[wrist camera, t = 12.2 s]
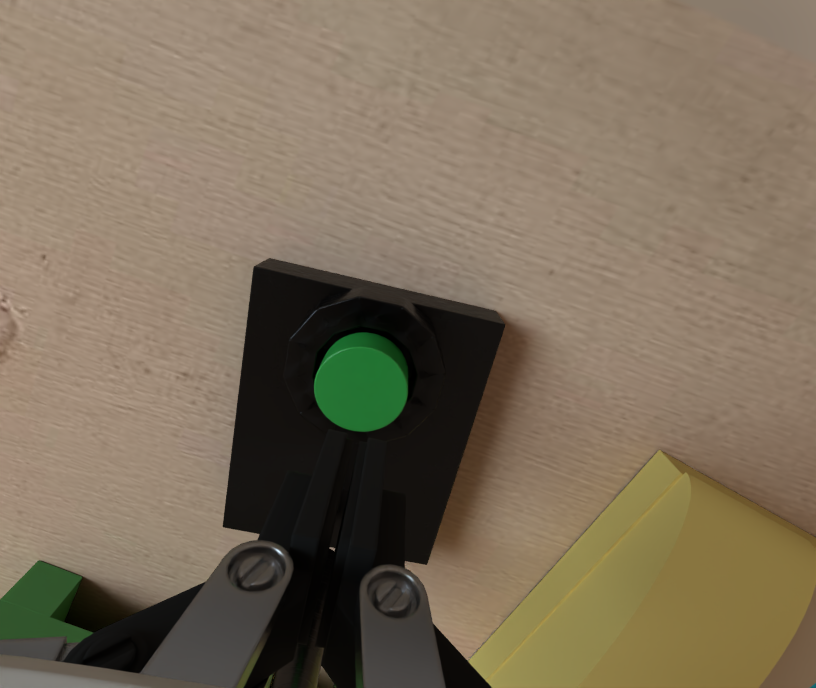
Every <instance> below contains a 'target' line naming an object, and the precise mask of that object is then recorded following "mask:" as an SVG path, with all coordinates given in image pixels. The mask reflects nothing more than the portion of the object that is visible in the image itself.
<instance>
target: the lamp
mask: <svg viewBox="0 0 816 688" xmlns="http://www.w3.org/2000/svg"><path fill="white" fill-rule="evenodd" d="M334 553H335V552H334V551H333V550H331V549H329V551H328V556H327V560H326V564H325V569H324V573H323V578H322V582H321V586H320V591H319V595H318V599H317V604H316V608H315V612H314V617H313V621H312V626H311V630H310V634H309V639H308V643H307V645H302V644H297V648H296V652H295V656H294V660H293V661H291V662H290V663H288V664H287V665H285V666H284V667H282V668H281V669H279V670H278V671H276V673H275V677H274V681H273V684H272V688H317V685H318V680H319V674H320V669H321V661H322V656H323V650H324V648H319V647H315V643H316V638H317V633H318V629H319V624H320V619H321V615H322V610H323V605H324V600H325V596H326V591H327V586H328V581H329V577H330V572H331V567H332V562H333V558H334Z"/></svg>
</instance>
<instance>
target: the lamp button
mask: <svg viewBox="0 0 816 688" xmlns="http://www.w3.org/2000/svg"><path fill="white" fill-rule="evenodd" d="M314 393H315V398H316V401H317V403H318V405H319V408H320V409H321V411H322V412H323V413H324V414H325V416H326V417H327V418H328V419H330V420H331V421H332V422H333V423H335V424H336V425H338V426H340V427H342V428H345V429H348V430H352V431H359V432H366V431H373V430H377V429H380V428H383V427H385V426H387V425H388V424H390V423H391V422H393V421H394V420H395V419H396V418H397V417H398V416H399V415H400V413H401V412H402V411H403V409H404V407H405V404H406V401H407V397H408V366H407V362H406V360H405V357H404V355H403V354H402V352H401V351H400V349H399V348H398V347H397V346H396V345H395V344H394V343H393V342H391V341H390V340H388V339H387V338H385V337H383V336H380V335H377V334H373V333H364V332H362V333H354V334H350V335H347V336H345V337H343V338H341V339H339V340H338V341H336V342H335V343H334V344H333V345H332V346H331V347H330V348H329V350H328V351H327V353H326V355H325V357H324V359H323V361H322V363H321V365H320V367H319V369H318V371H317V374H316V377H315V381H314Z"/></svg>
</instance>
